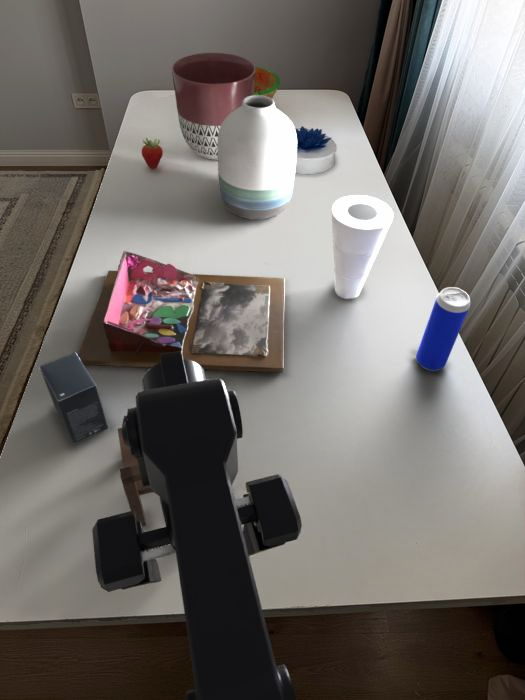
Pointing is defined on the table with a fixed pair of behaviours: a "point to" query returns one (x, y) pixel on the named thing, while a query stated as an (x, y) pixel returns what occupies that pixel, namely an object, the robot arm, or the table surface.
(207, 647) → the robot arm
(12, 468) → the table surface
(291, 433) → the table surface
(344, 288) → the stacked toilet paper rolls
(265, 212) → the vase
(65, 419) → the box
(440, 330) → the beverage can
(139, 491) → the brown legged wooden frame
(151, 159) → the fruit
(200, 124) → the planter
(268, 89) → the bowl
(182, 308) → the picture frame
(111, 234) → the table surface
